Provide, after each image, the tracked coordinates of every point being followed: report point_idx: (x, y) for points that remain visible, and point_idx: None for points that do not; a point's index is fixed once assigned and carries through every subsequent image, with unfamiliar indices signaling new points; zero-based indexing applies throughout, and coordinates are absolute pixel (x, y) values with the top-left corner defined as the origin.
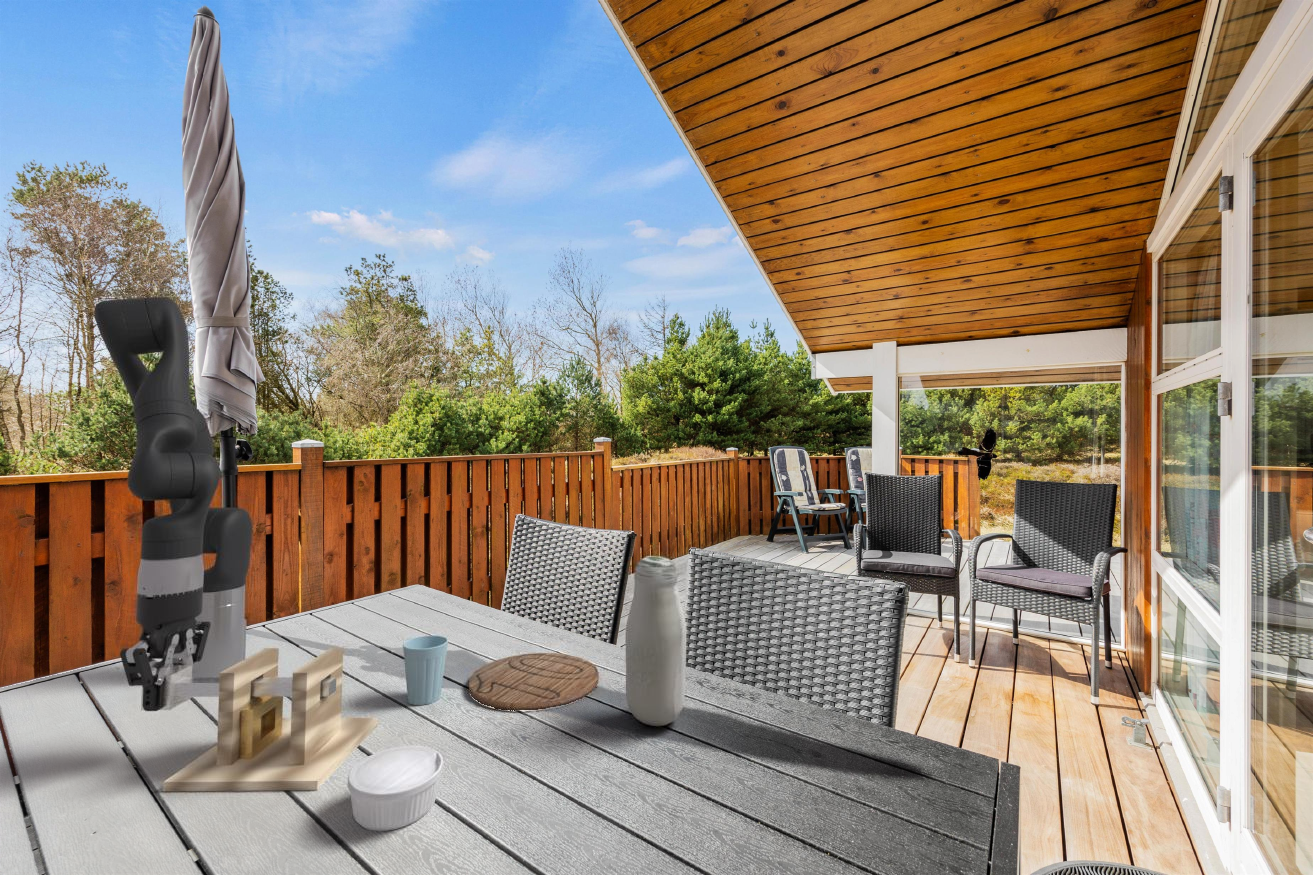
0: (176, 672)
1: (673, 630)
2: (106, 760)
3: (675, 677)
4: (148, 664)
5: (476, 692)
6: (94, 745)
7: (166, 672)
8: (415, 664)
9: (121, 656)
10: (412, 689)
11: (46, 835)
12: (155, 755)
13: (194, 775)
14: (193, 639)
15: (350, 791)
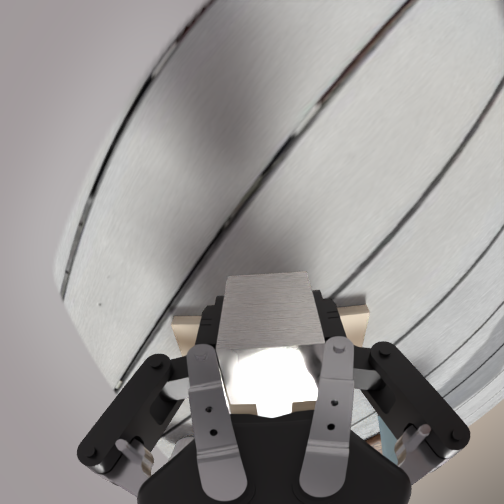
0: (253, 402)
1: None
2: (240, 151)
3: None
4: (154, 439)
5: (375, 442)
6: (297, 70)
7: (250, 386)
8: (385, 454)
9: (83, 442)
10: (384, 426)
11: (79, 261)
12: (264, 227)
13: (193, 345)
14: (402, 419)
15: (172, 457)
